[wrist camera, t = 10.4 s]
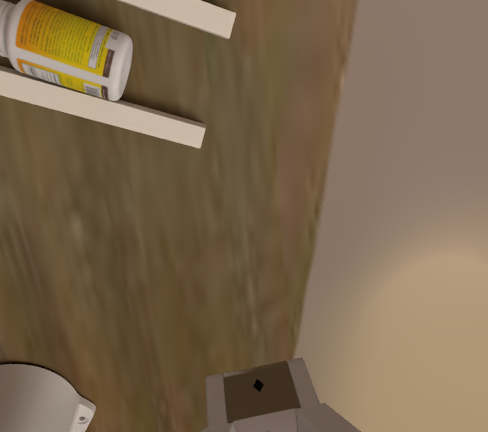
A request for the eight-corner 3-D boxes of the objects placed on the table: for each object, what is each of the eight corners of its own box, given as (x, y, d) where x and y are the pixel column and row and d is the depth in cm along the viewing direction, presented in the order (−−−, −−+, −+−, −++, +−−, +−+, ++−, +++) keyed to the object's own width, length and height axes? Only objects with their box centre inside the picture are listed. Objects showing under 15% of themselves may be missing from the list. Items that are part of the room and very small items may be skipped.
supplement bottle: (137, 24, 31) (3, -27, 28) (122, 58, 27) (-34, 3, 24) (129, 81, 35) (11, 40, 32) (114, 116, 31) (-20, 75, 28)
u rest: (199, 143, 37) (200, 150, 34) (-47, 76, 32) (-69, 79, 29) (233, 15, 33) (237, 12, 30) (-47, -88, 27) (-73, -103, 24)
